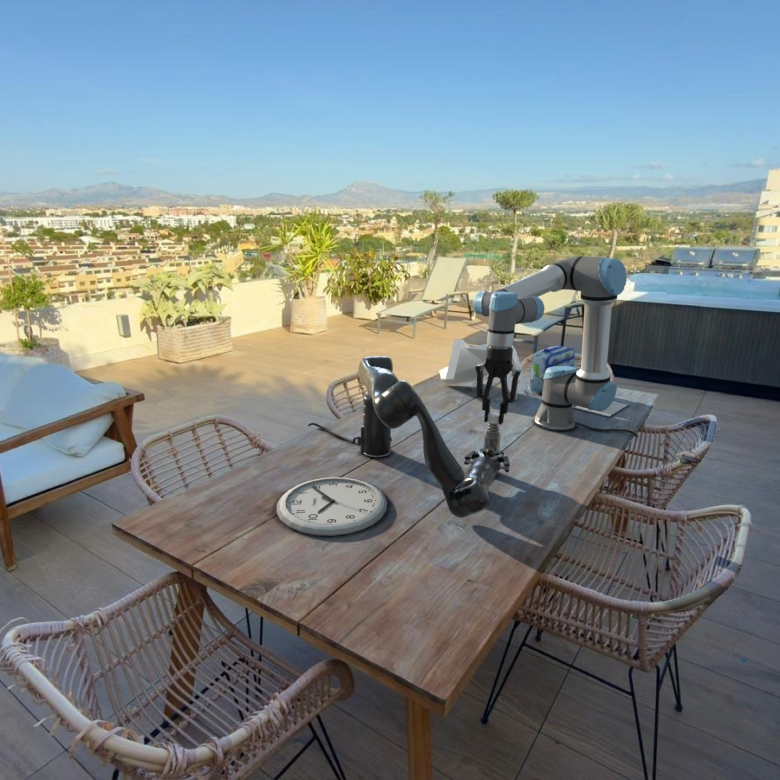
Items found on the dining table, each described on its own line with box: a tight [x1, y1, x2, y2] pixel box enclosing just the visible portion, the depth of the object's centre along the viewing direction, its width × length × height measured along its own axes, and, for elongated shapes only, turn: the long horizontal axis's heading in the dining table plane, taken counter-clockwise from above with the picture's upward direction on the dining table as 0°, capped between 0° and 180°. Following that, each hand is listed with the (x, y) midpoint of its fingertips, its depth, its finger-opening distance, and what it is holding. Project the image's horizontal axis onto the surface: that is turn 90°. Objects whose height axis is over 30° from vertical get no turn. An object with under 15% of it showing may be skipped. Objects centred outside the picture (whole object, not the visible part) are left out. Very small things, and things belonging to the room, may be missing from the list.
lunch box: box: [529, 345, 576, 394], centre depth 244 cm, size 26×11×21 cm, turn 135°
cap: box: [487, 412, 500, 425], centre depth 158 cm, size 4×4×2 cm
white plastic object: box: [438, 338, 531, 400], centre depth 245 cm, size 37×45×31 cm
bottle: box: [483, 422, 501, 476], centre depth 161 cm, size 5×5×19 cm
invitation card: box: [573, 400, 629, 418], centre depth 226 cm, size 21×1×15 cm
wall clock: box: [276, 476, 388, 537], centre depth 142 cm, size 30×2×30 cm
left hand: (492, 451), depth 164 cm, fingers closed on bottle, 4 cm apart
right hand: (493, 421), depth 158 cm, fingers closed on cap, 4 cm apart
